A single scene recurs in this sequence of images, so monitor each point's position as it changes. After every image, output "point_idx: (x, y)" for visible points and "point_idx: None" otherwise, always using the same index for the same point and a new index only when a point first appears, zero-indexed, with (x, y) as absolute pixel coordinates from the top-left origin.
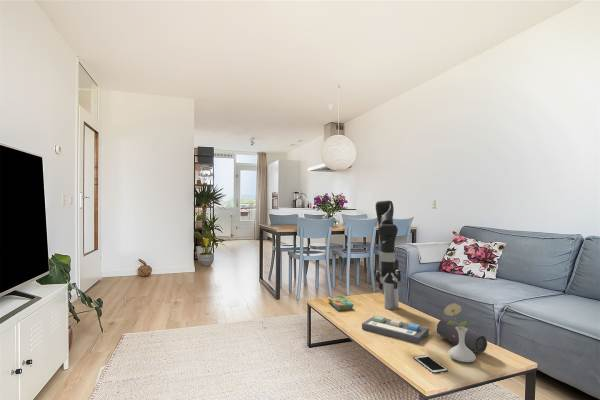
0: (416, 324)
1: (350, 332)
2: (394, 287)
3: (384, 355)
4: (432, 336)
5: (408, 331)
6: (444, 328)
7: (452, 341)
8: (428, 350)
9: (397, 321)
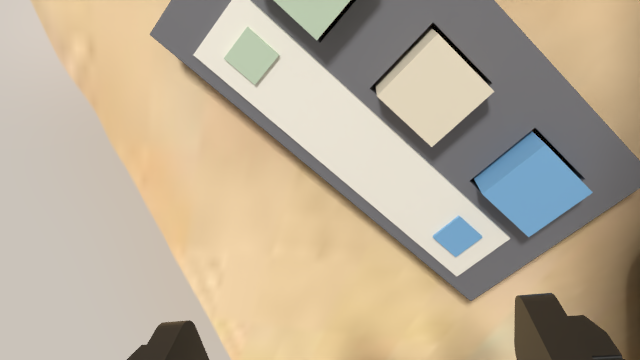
0: (570, 180)
1: (87, 91)
2: (525, 344)
3: (245, 350)
4: None
5: (451, 234)
6: None
7: None
8: (468, 338)
9: (445, 101)
